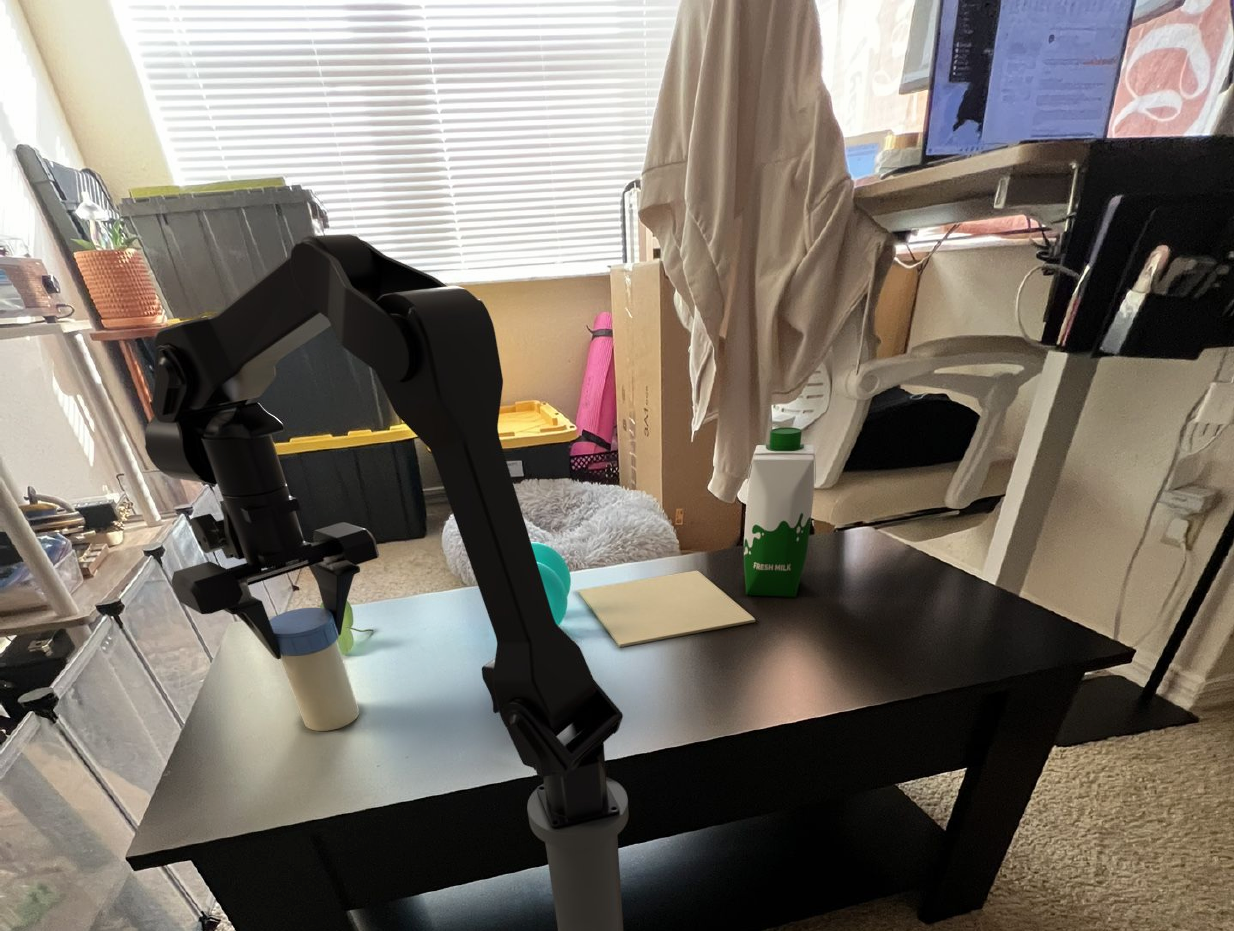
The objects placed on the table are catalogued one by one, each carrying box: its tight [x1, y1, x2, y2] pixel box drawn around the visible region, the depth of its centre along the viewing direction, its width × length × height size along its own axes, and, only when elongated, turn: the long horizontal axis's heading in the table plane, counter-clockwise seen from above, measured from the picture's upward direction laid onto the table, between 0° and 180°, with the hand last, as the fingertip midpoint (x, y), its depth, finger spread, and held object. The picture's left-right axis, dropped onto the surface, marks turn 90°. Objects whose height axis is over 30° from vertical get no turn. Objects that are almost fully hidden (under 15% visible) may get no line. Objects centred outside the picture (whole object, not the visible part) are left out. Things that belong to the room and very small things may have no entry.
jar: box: [280, 640, 360, 732], centre depth 78 cm, size 6×6×11 cm
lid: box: [269, 607, 338, 655], centre depth 75 cm, size 7×7×2 cm
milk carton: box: [743, 426, 817, 598], centre depth 99 cm, size 9×9×20 cm
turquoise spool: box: [531, 541, 572, 627], centre depth 95 cm, size 10×10×10 cm
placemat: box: [577, 570, 757, 648], centre depth 101 cm, size 20×19×1 cm
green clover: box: [319, 600, 374, 656], centre depth 97 cm, size 7×8×7 cm
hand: (308, 646), depth 76 cm, fingers closed on lid, 6 cm apart
